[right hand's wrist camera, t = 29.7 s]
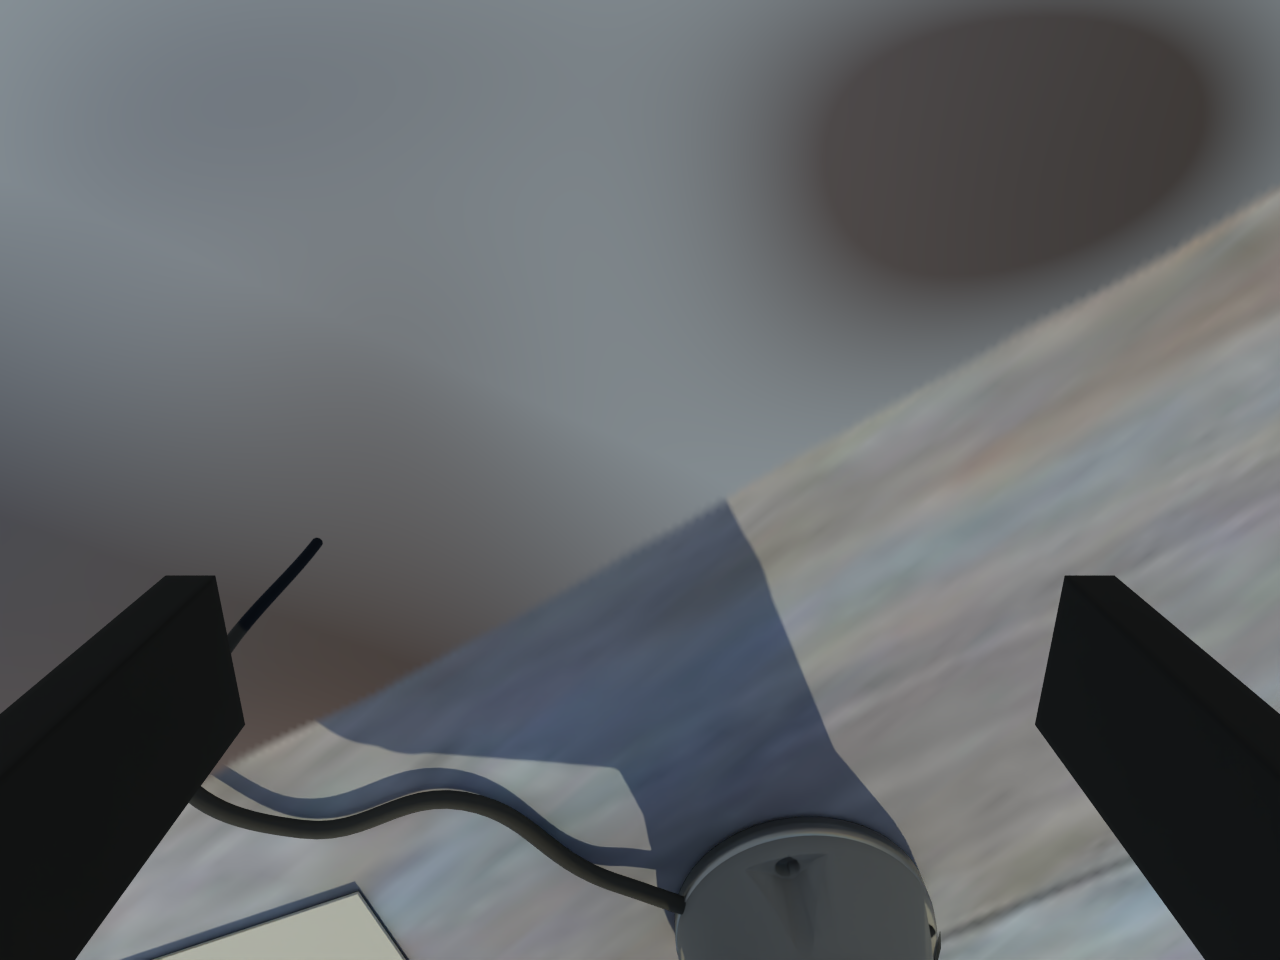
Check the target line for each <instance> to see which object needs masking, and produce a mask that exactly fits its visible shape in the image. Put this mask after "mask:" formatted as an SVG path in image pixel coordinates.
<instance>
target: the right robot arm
mask: <svg viewBox="0 0 1280 960" xmlns="http://www.w3.org/2000/svg"><path fill="white" fill-rule="evenodd" d="M322 544H323V541H322V540H321V539H320V538H314V539H313V540H312V541H311V542H310V543H309V545H308V546H307V547H306V548H305V549H304V551H303V552H302V553H301V554H300V555H299V556H298V557H297V559H296V560H295V561H294V562H293V563H292V564H291V565H290V566H289V567H288V568H287V569H286V570H285V572H284V573H283V574H282V575H281V576H280V577H279V578H278V579H277V580H276V581H275V582H274V583H273V584H272V585H271V586H270V587H269V588H268V589H267V590H266V591H265V592H264V593H263V595H262V596H261V597H260V598H259V599H258V600H257V601H256V602H255V603H254V604H253V605H252V606H251V607H250V609H249V610H248V611H247V612H246V613H245V614H244V615H243V616H242V617H241V619H240V620H239V621H238V622H237V624H236V625H235V626H234V627H233V628H232V629H231V631H230V632H229V633H228V635H227V632H226V627H225V622H224V617H223V612H222V607H221V602H220V597H219V592H218V587H217V582H216V577H215V576H165V577H163V578H162V579H161V580H160V581H159V582H157V583H156V584H155V585H154V586H153V587H151V588H150V589H149V590H148V591H147V592H145V593H144V594H143V595H142V596H141V597H139V598H138V599H137V600H136V601H135V602H134V603H132V604H131V605H130V606H129V607H128V608H126V609H125V610H124V611H123V612H122V613H120V614H119V615H118V616H117V617H116V618H114V619H113V620H112V621H111V622H110V623H108V624H107V625H106V626H105V627H104V628H102V629H101V630H100V631H99V632H98V633H96V634H95V635H94V636H93V637H92V638H91V639H89V640H88V641H87V642H86V643H85V644H83V645H82V646H81V647H80V648H79V649H77V650H76V651H75V652H74V653H73V654H71V655H70V656H69V657H68V658H67V659H66V660H64V661H63V662H62V663H61V664H59V665H58V666H57V667H56V668H55V669H54V670H52V671H51V672H50V673H49V674H48V675H46V676H45V677H44V678H43V679H42V680H40V681H39V682H38V683H37V684H36V685H34V686H33V687H32V688H31V689H30V690H28V691H27V692H26V693H25V694H24V695H22V696H21V697H20V698H19V699H18V700H17V701H15V702H14V703H13V704H12V705H11V706H9V707H8V708H7V709H6V710H5V711H3V712H2V713H1V714H0V960H75V959H76V958H77V956H78V955H79V953H80V952H81V951H82V949H83V948H84V947H85V945H86V944H87V942H88V941H89V940H90V938H91V937H92V936H93V934H94V933H95V931H96V930H97V929H98V927H99V926H100V924H101V923H102V922H103V920H104V919H105V918H106V916H107V915H108V913H109V912H110V911H111V909H112V908H113V906H114V905H115V904H116V902H117V901H118V900H119V898H120V897H121V895H122V894H123V893H124V891H125V890H126V888H127V887H128V886H129V884H130V883H131V882H132V880H133V879H134V877H135V876H136V875H137V873H138V872H139V871H140V869H141V868H142V866H143V865H144V864H145V862H146V861H147V859H148V858H149V857H150V855H151V854H152V853H153V851H154V850H155V848H156V847H157V846H158V844H159V843H160V841H161V840H162V839H163V837H164V836H165V835H166V833H167V832H168V830H169V829H170V828H171V826H172V825H173V823H174V822H175V821H176V819H177V818H178V817H179V815H180V814H181V812H182V811H183V810H184V808H185V807H186V806H187V804H188V803H190V804H191V805H192V806H194V807H195V808H197V809H198V810H200V811H202V812H203V813H205V814H207V815H209V816H211V817H213V818H215V819H218V820H220V821H223V822H225V823H228V824H231V825H234V826H237V827H241V828H245V829H248V830H253V831H257V832H262V833H268V834H273V835H280V836H287V837H294V838H304V839H329V838H337V837H342V836H348V835H351V834H355V833H358V832H361V831H364V830H367V829H370V828H373V827H375V826H378V825H380V824H383V823H386V822H388V821H391V820H393V819H396V818H399V817H402V816H405V815H408V814H411V813H415V812H419V811H424V810H431V809H456V810H464V811H468V812H473V813H477V814H480V815H483V816H486V817H489V818H491V819H493V820H495V821H498V822H500V823H501V824H503V825H505V826H507V827H509V828H510V829H512V830H513V831H515V832H516V833H518V834H519V835H520V836H522V837H523V838H524V839H526V840H527V841H528V842H530V843H531V844H532V845H533V846H535V847H536V848H537V849H539V850H540V851H541V852H542V853H544V854H545V855H546V856H548V857H549V858H550V859H552V860H553V861H554V862H556V863H557V864H559V865H560V866H562V867H563V868H565V869H566V870H568V871H570V872H571V873H573V874H575V875H576V876H578V877H580V878H582V879H584V880H586V881H588V882H590V883H592V884H595V885H597V886H599V887H602V888H605V889H607V890H610V891H613V892H616V893H619V894H622V895H625V896H628V897H631V898H634V899H637V900H640V901H643V902H646V903H648V904H651V905H654V906H657V907H660V908H663V909H666V910H669V911H672V912H675V938H676V948H677V953H678V957H679V960H938V958H939V953H940V949H941V937H940V933H939V938H938V942H937V926H936V920H935V916H934V910H933V906H932V902H931V900H930V897H929V894H928V892H927V889H926V887H925V885H924V882H923V880H922V877H921V875H920V873H919V871H918V869H917V867H916V866H915V864H914V863H913V862H912V860H911V859H910V858H909V857H908V856H907V854H906V853H905V852H904V851H903V850H902V849H901V848H899V847H898V846H897V845H896V844H895V843H893V842H892V841H891V840H889V839H888V838H886V837H885V836H883V835H881V834H879V833H877V832H876V831H873V830H871V829H869V828H867V827H864V826H861V825H858V824H855V823H852V822H848V821H844V820H838V819H832V818H823V817H796V818H787V819H780V820H775V821H771V822H767V823H763V824H760V825H757V826H754V827H751V828H748V829H746V830H744V831H741V832H739V833H737V834H735V835H733V836H731V837H729V838H728V839H726V840H725V841H723V842H721V843H720V844H718V845H717V846H716V847H714V848H713V849H712V850H710V851H709V852H708V853H707V854H706V855H705V856H704V857H703V858H702V859H701V860H700V861H699V862H698V863H697V864H696V865H695V866H694V868H693V869H692V871H691V872H690V873H689V875H688V876H687V878H686V880H685V882H684V883H683V885H682V888H681V890H680V892H679V895H678V894H675V893H672V892H669V891H667V890H664V889H661V888H658V887H655V886H652V885H649V884H646V883H644V882H641V881H638V880H635V879H632V878H629V877H626V876H622V875H619V874H616V873H614V872H611V871H608V870H606V869H603V868H601V867H599V866H596V865H594V864H593V863H591V862H589V861H587V860H585V859H583V858H581V857H580V856H578V855H576V854H575V853H573V852H572V851H570V850H569V849H567V848H566V847H564V846H563V845H562V844H560V843H559V842H558V841H557V840H555V839H554V838H553V837H551V836H550V835H549V834H548V833H546V832H545V831H544V830H543V829H541V828H540V827H539V826H538V825H536V824H535V823H534V822H532V821H531V820H530V819H528V818H527V817H525V816H524V815H522V814H521V813H519V812H518V811H516V810H514V809H512V808H511V807H509V806H507V805H505V804H503V803H501V802H498V801H496V800H493V799H490V798H487V797H484V796H481V795H477V794H472V793H468V792H461V791H451V790H442V791H428V792H422V793H417V794H413V795H409V796H405V797H402V798H399V799H397V800H394V801H391V802H388V803H386V804H383V805H381V806H378V807H376V808H373V809H370V810H368V811H365V812H362V813H359V814H357V815H353V816H350V817H346V818H341V819H336V820H327V821H310V820H299V819H292V818H285V817H279V816H273V815H268V814H263V813H259V812H255V811H251V810H248V809H244V808H241V807H238V806H236V805H233V804H231V803H228V802H226V801H224V800H222V799H220V798H218V797H216V796H214V795H213V794H211V793H210V792H208V791H207V790H205V789H204V788H203V787H201V785H202V783H203V782H204V781H205V779H206V778H207V776H208V775H209V774H210V772H211V771H212V770H213V768H214V767H215V765H216V764H217V763H218V761H219V760H220V758H221V757H222V756H223V754H224V753H225V752H226V750H227V749H228V747H229V746H230V745H231V743H232V742H233V740H234V739H235V738H236V736H237V735H238V734H239V732H240V731H241V729H242V728H243V727H244V725H245V722H244V717H243V712H242V707H241V702H240V697H239V692H238V687H237V682H236V677H235V672H234V667H233V662H232V657H231V653H232V652H233V650H234V649H235V647H236V646H237V645H238V643H239V642H240V641H241V639H242V638H243V637H244V635H245V634H246V633H247V632H248V630H249V629H250V628H251V627H252V626H253V624H254V623H255V622H256V621H257V620H258V618H259V617H260V616H261V615H262V614H263V613H264V612H265V610H266V609H267V608H268V607H269V606H270V605H271V604H272V603H273V602H274V600H275V599H276V598H277V597H278V596H279V595H280V594H281V593H282V592H283V591H284V590H285V588H286V587H287V586H288V585H289V584H290V583H291V582H292V581H293V580H294V579H295V577H296V576H297V575H298V574H299V573H300V572H301V571H302V570H303V568H304V567H305V566H306V565H307V564H308V562H309V561H310V560H311V559H312V558H313V556H314V555H315V554H316V553H317V551H318V550H319V549H320V547H321V546H322ZM1035 725H1036V727H1037V728H1038V729H1039V731H1040V732H1041V734H1042V735H1043V736H1044V738H1045V739H1046V740H1047V742H1048V743H1049V745H1050V746H1051V747H1052V749H1053V750H1054V752H1055V753H1056V754H1057V756H1058V757H1059V758H1060V760H1061V761H1062V763H1063V764H1064V765H1065V767H1066V768H1067V770H1068V771H1069V772H1070V774H1071V775H1072V776H1073V778H1074V779H1075V781H1076V782H1077V783H1078V785H1079V786H1080V788H1081V789H1082V790H1083V792H1084V793H1085V794H1086V796H1087V797H1088V799H1089V800H1090V801H1091V803H1092V804H1093V806H1094V807H1095V808H1096V810H1097V811H1098V812H1099V814H1100V815H1101V817H1102V818H1103V819H1104V821H1105V822H1106V823H1107V825H1108V826H1109V828H1110V829H1111V830H1112V832H1113V833H1114V835H1115V836H1116V837H1117V839H1118V840H1119V841H1120V843H1121V844H1122V846H1123V847H1124V848H1125V850H1126V851H1127V853H1128V854H1129V855H1130V857H1131V858H1132V859H1133V861H1134V862H1135V864H1136V865H1137V866H1138V868H1139V869H1140V871H1141V872H1142V873H1143V875H1144V876H1145V877H1146V879H1147V880H1148V882H1149V883H1150V884H1151V886H1152V887H1153V888H1154V890H1155V891H1156V893H1157V894H1158V895H1159V897H1160V898H1161V900H1162V901H1163V902H1164V904H1165V905H1166V906H1167V908H1168V909H1169V911H1170V912H1171V913H1172V915H1173V916H1174V918H1175V919H1176V920H1177V922H1178V923H1179V924H1180V926H1181V927H1182V929H1183V930H1184V931H1185V933H1186V934H1187V936H1188V937H1189V938H1190V940H1191V941H1192V942H1193V944H1194V945H1195V947H1196V948H1197V949H1198V951H1199V952H1200V953H1201V955H1202V956H1203V958H1204V959H1205V960H1280V714H1279V713H1278V712H1277V711H1275V710H1274V709H1273V708H1272V707H1271V706H1269V705H1268V704H1267V703H1266V702H1265V701H1263V700H1262V699H1261V698H1260V697H1259V696H1258V695H1256V694H1255V693H1254V692H1253V691H1252V690H1250V689H1249V688H1248V687H1247V686H1246V685H1244V684H1243V683H1242V682H1241V681H1240V680H1238V679H1237V678H1236V677H1235V676H1234V675H1232V674H1231V673H1230V672H1229V671H1228V670H1226V669H1225V668H1224V667H1223V666H1222V665H1221V664H1219V663H1218V662H1217V661H1216V660H1215V659H1213V658H1212V657H1211V656H1210V655H1209V654H1207V653H1206V652H1205V651H1204V650H1203V649H1201V648H1200V647H1199V646H1198V645H1197V644H1195V643H1194V642H1193V641H1192V640H1191V639H1189V638H1188V637H1187V636H1186V635H1185V634H1184V633H1182V632H1181V631H1180V630H1179V629H1178V628H1176V627H1175V626H1174V625H1173V624H1172V623H1170V622H1169V621H1168V620H1167V619H1166V618H1164V617H1163V616H1162V615H1161V614H1160V613H1158V612H1157V611H1156V610H1155V609H1154V608H1152V607H1151V606H1150V605H1149V604H1148V603H1146V602H1145V601H1144V600H1143V599H1142V598H1141V597H1139V596H1138V595H1137V594H1136V593H1135V592H1133V591H1132V590H1131V589H1130V588H1129V587H1127V586H1126V585H1125V584H1124V583H1123V582H1121V581H1120V580H1119V579H1118V578H1117V577H1115V576H1065V577H1064V582H1063V587H1062V592H1061V597H1060V602H1059V607H1058V612H1057V617H1056V622H1055V627H1054V632H1053V637H1052V642H1051V647H1050V652H1049V657H1048V662H1047V667H1046V672H1045V677H1044V682H1043V687H1042V692H1041V697H1040V702H1039V707H1038V712H1037V717H1036V722H1035Z"/></svg>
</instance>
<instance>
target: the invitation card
mask: <svg viewBox="0 0 1280 960" xmlns="http://www.w3.org/2000/svg"><path fill="white" fill-rule="evenodd" d="M153 960H406V959H405V958H404V956H403V955H402V954H401V952H400V951H399V949H398V948H397V946H396V945H395V943H394V942H393V941H392V939H391V938H390V936H389V935H388V933H387V932H386V930H385V929H384V928H383V926H382V925H381V923H380V922H379V920H378V919H377V918H376V916H375V915H374V913H373V912H372V910H371V909H370V907H369V906H368V905H367V903H366V902H365V900H364V899H363V897H362V896H361V894H360V893H359V892H355V893H352V894H349V895H346V896H343V897H340V898H337V899H334V900H331V901H328V902H325V903H322V904H319V905H316V906H313V907H310V908H307V909H304V910H301V911H298V912H295V913H292V914H289V915H286V916H283V917H280V918H277V919H274V920H271V921H268V922H265V923H262V924H259V925H256V926H253V927H250V928H247V929H244V930H241V931H238V932H235V933H232V934H228V935H225V936H222V937H219V938H216V939H213V940H210V941H207V942H204V943H201V944H198V945H195V946H192V947H189V948H186V949H183V950H180V951H177V952H174V953H171V954H168V955H165V956H162V957H159V958H156V959H153Z"/></svg>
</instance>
